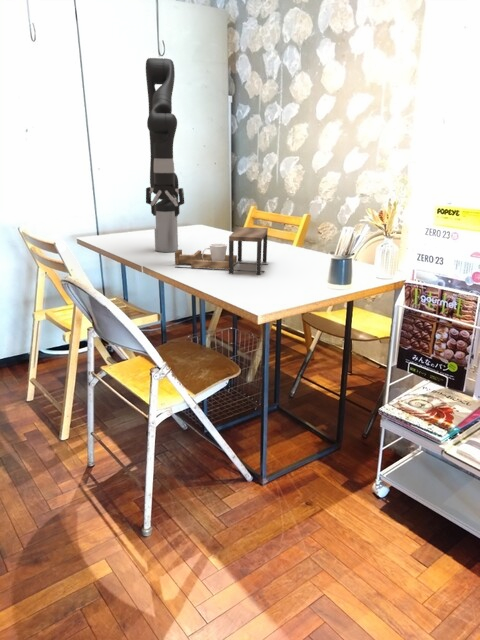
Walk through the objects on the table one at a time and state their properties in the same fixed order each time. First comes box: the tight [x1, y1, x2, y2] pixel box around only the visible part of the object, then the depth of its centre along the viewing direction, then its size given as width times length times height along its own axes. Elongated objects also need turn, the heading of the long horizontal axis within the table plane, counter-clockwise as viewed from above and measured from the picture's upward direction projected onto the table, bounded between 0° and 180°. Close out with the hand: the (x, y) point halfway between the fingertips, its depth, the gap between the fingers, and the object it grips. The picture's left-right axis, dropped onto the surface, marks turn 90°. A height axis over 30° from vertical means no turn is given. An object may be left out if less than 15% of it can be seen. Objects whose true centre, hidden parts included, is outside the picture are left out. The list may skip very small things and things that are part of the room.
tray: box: [174, 249, 238, 269], centre depth 192 cm, size 22×13×4 cm, turn 81°
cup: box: [201, 242, 228, 262], centre depth 192 cm, size 7×10×8 cm
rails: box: [174, 261, 269, 273], centre depth 192 cm, size 34×13×1 cm, turn 81°
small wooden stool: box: [228, 226, 269, 276], centre depth 189 cm, size 12×22×14 cm, turn 171°
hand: (165, 215), depth 190 cm, fingers open, 8 cm apart
